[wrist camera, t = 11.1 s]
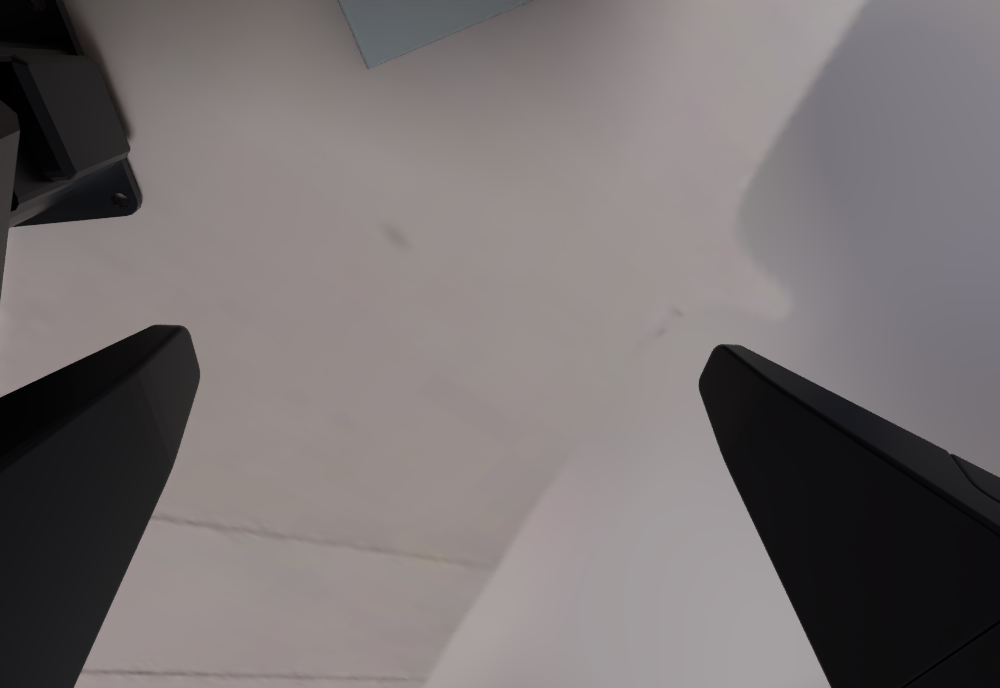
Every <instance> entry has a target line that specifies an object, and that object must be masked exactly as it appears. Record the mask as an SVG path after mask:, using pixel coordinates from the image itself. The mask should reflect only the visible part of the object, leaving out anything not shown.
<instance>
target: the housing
mask: <svg viewBox="0 0 1000 688" xmlns="http://www.w3.org/2000/svg"><path fill="white" fill-rule="evenodd" d="M529 1H531V0H338V2H339V5H340V7H341V9H342V12H343V14H344V16H345V18H346V21H347V23H348V25H349V28H350V30H351V32H352V35H353V37H354V39H355V41H356V44H357V46H358V48H359V51H360V53H361V55H362V57H363V60H364V62H365V64H366V67H367V69H370V68H372V67H375V66H377V65H379V64H382V63H384V62H386V61H389V60H391V59H394V58H396V57H398V56H401V55H403V54H405V53H408V52H410V51H413V50H415V49H417V48H420V47H422V46H424V45H427V44H429V43H432V42H434V41H436V40H439V39H441V38H443V37H446V36H448V35H451V34H453V33H455V32H458V31H460V30H462V29H465V28H467V27H470V26H472V25H474V24H477V23H479V22H481V21H484V20H486V19H489V18H491V17H493V16H496V15H498V14H500V13H503V12H505V11H508V10H510V9H512V8H515V7H517V6H519V5H522V4H524V3H527V2H529Z"/></svg>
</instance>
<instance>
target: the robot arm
mask: <svg viewBox="0 0 1000 688" xmlns="http://www.w3.org/2000/svg"><path fill="white" fill-rule="evenodd" d="M129 152H130V146H129V143H128V141H127V138H126V136H125V133H124V131H123V128H122V126H121V123H120V121H119V118H118V116H117V113H116V110H115V108H114V105H113V103H112V100H111V98H110V95H109V93H108V90H107V88H106V85H105V83H104V80H103V77H102V75H101V72H100V70H99V67H98V65H97V64H96V63H94V62H93V61H92V60H90V59H89V58H88V57H86V56H84V54H83V52H82V49H81V47H80V44H79V42H78V39H77V37H76V34H75V32H74V29H73V27H72V24H71V22H70V19H69V17H68V14H67V12H66V9H65V7H64V4H63V2H62V0H46V8H45V9H44V10H43V11H39V10H38V9H36V8H35V7H34V5H33V4H32V2H31V0H0V298H1V290H2V281H3V272H4V264H5V255H6V247H7V238H8V229H9V228H11V227H17V226H27V225H38V224H48V223H58V222H69V221H79V220H89V219H100V218H110V217H120V216H128V215H131V214H133V213H135V212H136V211H137V210H138V209H139V208H140V207H141V204H142V200H141V196H140V193H139V191H138V188H137V186H136V183H135V181H134V178H133V176H132V173H131V171H130V168H129V166H128V163H127V161H126V156H127V155H128V153H129ZM116 193H120V194H123V195H125V196H126V197H127V198H128V200H129V205H128V206H125V205H122V204H120V203H119V202H118V201H117V200H116V196H115V195H116ZM199 380H200V368H199V364H198V361H197V357H196V353H195V350H194V346H193V343H192V339H191V335H190V333H189V331H188V330H187V328H185V327H184V326H181V325H153V326H150V327H148V328H146V329H144V330H142V331H140V332H138V333H136V334H134V335H131V336H129V337H127V338H125V339H123V340H121V341H119V342H117V343H115V344H112V345H110V346H108V347H106V348H104V349H102V350H100V351H98V352H96V353H93V354H91V355H89V356H87V357H85V358H83V359H81V360H79V361H77V362H74V363H72V364H70V365H68V366H66V367H64V368H62V369H60V370H57V371H55V372H53V373H51V374H49V375H47V376H45V377H43V378H41V379H38V380H36V381H34V382H32V383H30V384H28V385H26V386H24V387H22V388H19V389H17V390H15V391H13V392H11V393H9V394H7V395H5V396H3V397H0V688H74V686H75V684H76V682H77V679H78V677H79V675H80V673H81V670H82V668H83V666H84V664H85V662H86V659H87V657H88V655H89V653H90V651H91V648H92V646H93V644H94V642H95V639H96V637H97V635H98V633H99V631H100V628H101V626H102V624H103V622H104V619H105V617H106V615H107V613H108V611H109V608H110V606H111V604H112V602H113V600H114V597H115V595H116V593H117V591H118V588H119V586H120V584H121V582H122V580H123V577H124V575H125V573H126V571H127V569H128V566H129V564H130V562H131V560H132V557H133V555H134V553H135V551H136V549H137V546H138V544H139V542H140V540H141V538H142V535H143V533H144V531H145V529H146V526H147V524H148V522H149V520H150V518H151V515H152V513H153V511H154V509H155V507H156V504H157V502H158V500H159V498H160V495H161V493H162V491H163V489H164V487H165V484H166V482H167V480H168V477H169V475H170V473H171V470H172V468H173V465H174V462H175V459H176V456H177V453H178V450H179V447H180V444H181V440H182V437H183V434H184V430H185V427H186V424H187V421H188V417H189V414H190V411H191V408H192V404H193V401H194V398H195V394H196V391H197V388H198V385H199ZM699 391H700V394H701V397H702V400H703V403H704V405H705V408H706V411H707V414H708V417H709V420H710V422H711V425H712V428H713V431H714V434H715V437H716V440H717V443H718V445H719V448H720V451H721V454H722V456H723V459H724V461H725V463H726V466H727V468H728V470H729V472H730V475H731V477H732V478H733V481H734V483H735V485H736V487H737V489H738V491H739V494H740V495H741V498H742V500H743V502H744V504H745V506H746V508H747V511H748V512H749V515H750V517H751V519H752V521H753V523H754V525H755V527H756V529H757V532H758V534H759V536H760V538H761V540H762V542H763V544H764V546H765V549H766V551H767V553H768V555H769V557H770V559H771V561H772V563H773V566H774V568H775V570H776V572H777V574H778V576H779V578H780V580H781V582H782V585H783V587H784V588H785V591H786V593H787V595H788V597H789V600H790V602H791V603H792V606H793V608H794V610H795V612H796V614H797V616H798V618H799V621H800V623H801V625H802V627H803V629H804V631H805V633H806V636H807V638H808V640H809V642H810V644H811V646H812V648H813V650H814V652H815V655H816V657H817V659H818V661H819V663H820V665H821V667H822V669H823V671H824V674H825V676H826V678H827V680H828V682H829V684H830V686H831V688H1000V477H998V476H996V475H993V474H992V473H989V472H987V471H985V470H984V469H982V468H980V467H978V466H976V465H974V464H972V463H970V462H968V461H966V460H964V459H962V458H960V457H958V456H956V455H954V454H949V453H948V452H947V451H946V450H944V449H942V448H940V447H938V446H936V445H934V444H932V443H931V442H929V441H927V440H925V439H923V438H921V437H919V436H917V435H915V434H913V433H911V432H909V431H907V430H905V429H903V428H901V427H899V426H897V425H895V424H893V423H891V422H889V421H888V420H885V419H883V418H882V417H880V416H878V415H876V414H874V413H872V412H870V411H868V410H866V409H864V408H862V407H860V406H858V405H856V404H854V403H852V402H850V401H848V400H846V399H845V398H843V397H841V396H839V395H837V394H835V393H833V392H831V391H829V390H827V389H825V388H823V387H821V386H819V385H817V384H815V383H813V382H811V381H809V380H807V379H805V378H804V377H801V376H799V375H797V374H796V373H794V372H792V371H790V370H788V369H786V368H784V367H782V366H780V365H778V364H776V363H774V362H772V361H770V360H768V359H766V358H764V357H762V356H760V355H759V354H756V353H755V352H753V351H751V350H748V349H747V348H745V347H743V346H741V345H729V344H727V345H726V344H721V345H718V346H716V347H715V348H714V349H713V351H712V353H711V355H710V357H709V359H708V362H707V363H706V366H705V368H704V370H703V372H702V374H701V376H700V379H699Z"/></svg>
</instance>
